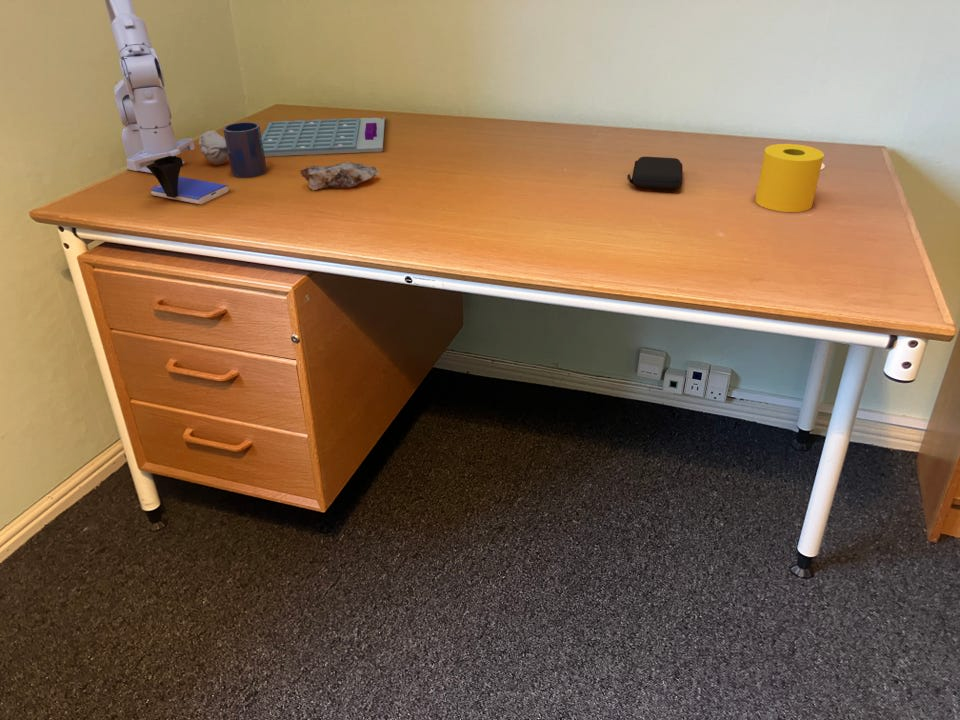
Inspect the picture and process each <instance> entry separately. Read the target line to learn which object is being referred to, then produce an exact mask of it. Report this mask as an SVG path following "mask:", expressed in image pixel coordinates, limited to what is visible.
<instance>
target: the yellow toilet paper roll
mask: <svg viewBox="0 0 960 720" xmlns="http://www.w3.org/2000/svg"><path fill="white" fill-rule="evenodd" d="M824 154H825V153H824V152H823V151H821V150H820V149H818V148H815V147H812V146H810V145H804V144H798V143H797V144H796V143H777V144H771V145H768V146H766V147H765V148H764V152H763V157H762V162H761V168H760V172H759V178H758V184H757V189H756V192H755V193H756V194H755V203H757V205H758V206H761V207H762V208H764V209H768V210H771V211H776V212H781V213H782V212H784V213H800V212H801V213H802V212H805V211H808V210H810V209H811V208H812V207H813V203H814V198H815V194H816V190H817V186H818V182H819V178H820V174H821V169H822V165H823V160H824V156H825V155H824Z"/></svg>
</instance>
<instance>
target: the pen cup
mask: <svg viewBox="0 0 960 720" xmlns="http://www.w3.org/2000/svg"><path fill="white" fill-rule="evenodd" d="M222 130H223V135H224V136H223V137H224V138H225V141H226V146H227V151H228V156H229V157H228V161H229V166H230V171H231V174H232V176H233V177H236V178H241V179H242V178H243V179H246V178H256V177H259V176H263V175H264V174H266V173H267V172H268V167H267V163H266V162H267V161H266V157H265V155H264V149H263V143H262V132H261V126H260V124H259V123H257V122H252V121H242V122H241V121H240V122H235V123H230V124H227V125H225V126H224V127H222Z"/></svg>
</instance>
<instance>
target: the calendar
mask: <svg viewBox="0 0 960 720" xmlns="http://www.w3.org/2000/svg"><path fill="white" fill-rule="evenodd" d="M385 126H386V117H385V116H384V117H383V118H380V117H379V118H378V117H374V116H373V117H372V118H371V117H361V118H358V117H357V118H352V117H349V118H330V119H317V118H316V119H311V120H310V119H309V120H307V119H306V120H301V119H297V120H283V121H282V120H281V121H269V122H268V123H267V125H266V128H265V129H264V131H263V133H262V134H261V137H262V143H263V149H264V155H265V158H266V157H286V156H287V157H288V156H289V157H290V156H311V155H332V154H334V155H336V154H352V153H353V154H355V153H356V154H357V153H380V152H381V153H382V152H384V142H385V141H384V139H385Z"/></svg>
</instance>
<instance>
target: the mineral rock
mask: <svg viewBox="0 0 960 720" xmlns="http://www.w3.org/2000/svg"><path fill="white" fill-rule="evenodd" d="M300 175H301V176H302V178H304V179H305V180H306V181H307V182H308V187H309V189H311V190H312V192H314V191H317V190H321V189H326V188H336V189H339V188H340V189H341V188H345V189H346V188H347V189H349V188H352V187H356V186H357V185H359V184H360V183H363V182H366V181H368V180H370V179H372V178H375V177H377V176H379V175H380V171H379V170H378V169H377V168H376V167H375V166H372V165H371V166H368V165H365V164H363V163H355V162H352V161H351V162H348V161H344V162H341V163H337V164H334V165H325V166H319V165H311V166H310V167H309V166H308V167H305V168H302V169H300Z"/></svg>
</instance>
